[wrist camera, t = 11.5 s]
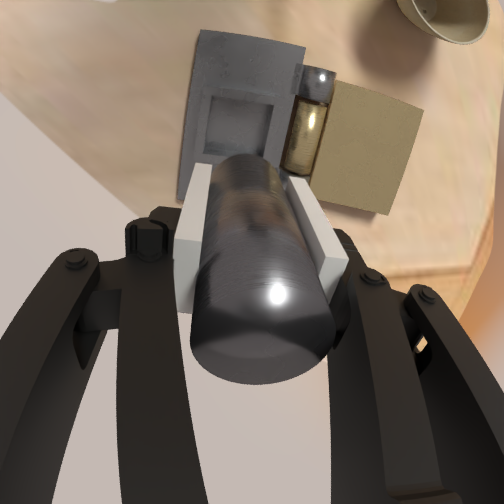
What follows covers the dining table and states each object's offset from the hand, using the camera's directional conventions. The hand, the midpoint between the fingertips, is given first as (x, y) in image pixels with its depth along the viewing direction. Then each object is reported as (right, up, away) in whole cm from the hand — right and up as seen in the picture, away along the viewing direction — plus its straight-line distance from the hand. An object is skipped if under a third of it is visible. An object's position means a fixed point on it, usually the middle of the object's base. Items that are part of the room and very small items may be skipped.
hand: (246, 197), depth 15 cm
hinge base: (0, +10, +16) cm, 19 cm away
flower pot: (+18, +24, +8) cm, 31 cm away
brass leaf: (+11, +9, +17) cm, 22 cm away
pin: (0, +1, +1) cm, 1 cm away
